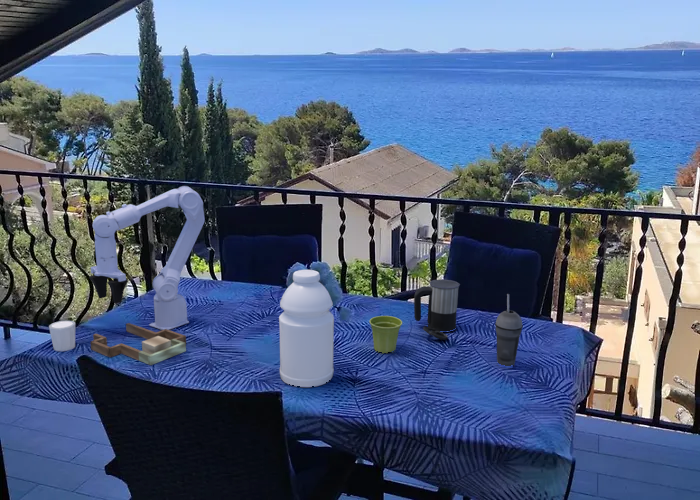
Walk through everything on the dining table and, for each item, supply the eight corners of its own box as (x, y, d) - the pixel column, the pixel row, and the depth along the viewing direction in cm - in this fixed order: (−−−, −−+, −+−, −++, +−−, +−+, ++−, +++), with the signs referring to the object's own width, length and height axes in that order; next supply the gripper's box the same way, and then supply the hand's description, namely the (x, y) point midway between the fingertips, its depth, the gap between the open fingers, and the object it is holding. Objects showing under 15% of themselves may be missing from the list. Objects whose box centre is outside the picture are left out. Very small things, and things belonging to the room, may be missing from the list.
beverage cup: (504, 372, 166) (510, 301, 161) (486, 362, 172) (491, 293, 167) (525, 367, 169) (531, 297, 164) (506, 357, 175) (512, 289, 171)
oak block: (159, 348, 179) (158, 335, 178) (171, 353, 176) (170, 340, 175) (142, 355, 174) (141, 341, 173) (155, 360, 171) (154, 346, 170)
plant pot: (405, 346, 182) (407, 318, 180) (394, 358, 174) (395, 329, 172) (376, 341, 186) (377, 313, 184) (363, 352, 178) (364, 324, 176)
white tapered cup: (67, 353, 175) (65, 329, 173) (45, 350, 176) (43, 327, 174) (82, 343, 181) (80, 321, 179) (61, 341, 182) (59, 319, 181)
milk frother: (448, 321, 203) (451, 277, 199) (472, 339, 188) (475, 292, 185) (408, 326, 199) (410, 281, 195) (429, 344, 184) (431, 296, 180)
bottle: (312, 393, 153) (312, 284, 146) (268, 379, 160) (266, 274, 153) (343, 372, 165) (344, 270, 158) (301, 360, 172) (300, 262, 165)
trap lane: (138, 327, 194) (138, 319, 194) (195, 347, 180) (195, 339, 179) (82, 346, 179) (82, 338, 179) (139, 369, 165) (139, 361, 164)
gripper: (79, 254, 185) (83, 298, 188) (109, 262, 177) (113, 308, 180) (101, 250, 190) (104, 292, 194) (130, 257, 182) (133, 302, 186)
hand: (110, 300), depth 187 cm, fingers open, 7 cm apart
